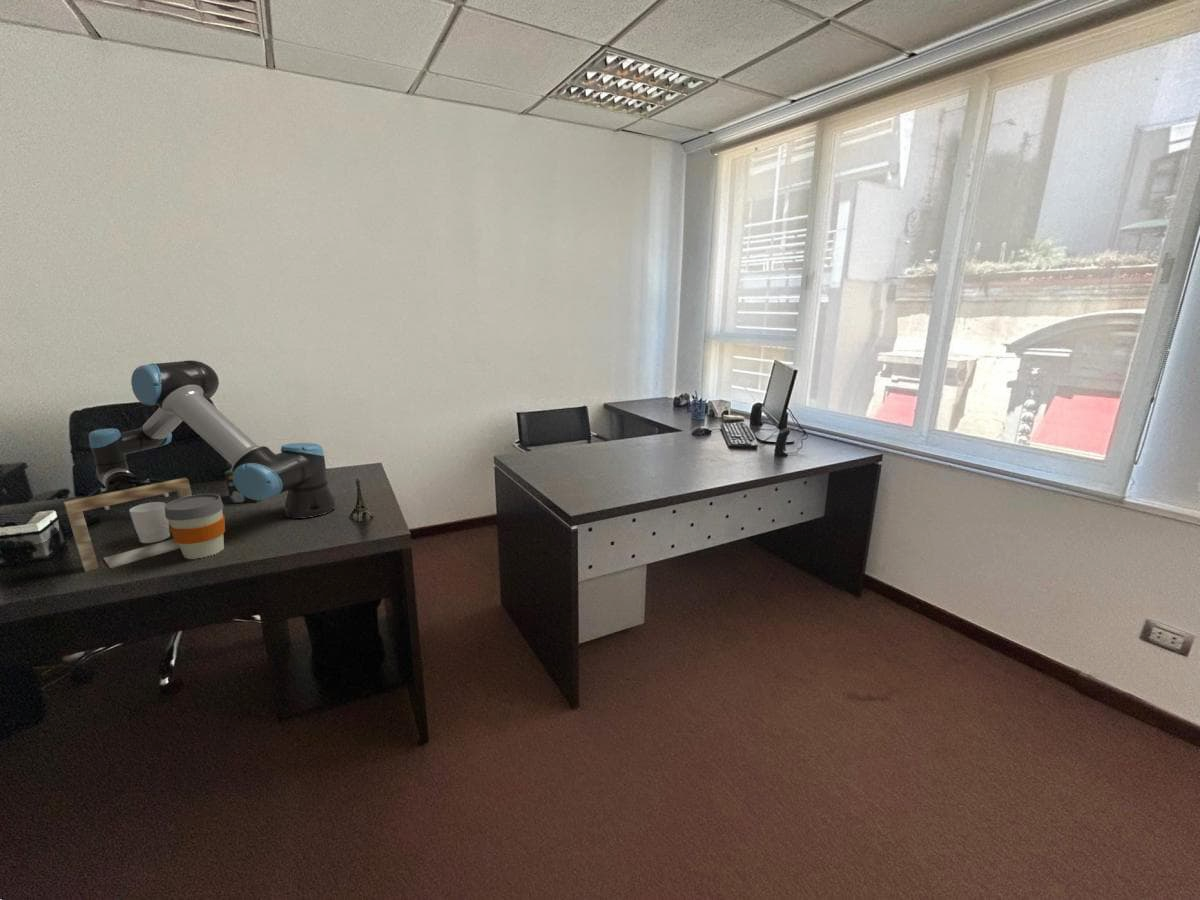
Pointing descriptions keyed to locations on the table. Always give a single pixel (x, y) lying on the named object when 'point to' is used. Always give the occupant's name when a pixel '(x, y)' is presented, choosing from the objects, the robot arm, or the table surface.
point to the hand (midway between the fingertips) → (137, 498)
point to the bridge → (83, 504)
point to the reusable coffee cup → (197, 524)
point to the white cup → (150, 522)
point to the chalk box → (235, 490)
